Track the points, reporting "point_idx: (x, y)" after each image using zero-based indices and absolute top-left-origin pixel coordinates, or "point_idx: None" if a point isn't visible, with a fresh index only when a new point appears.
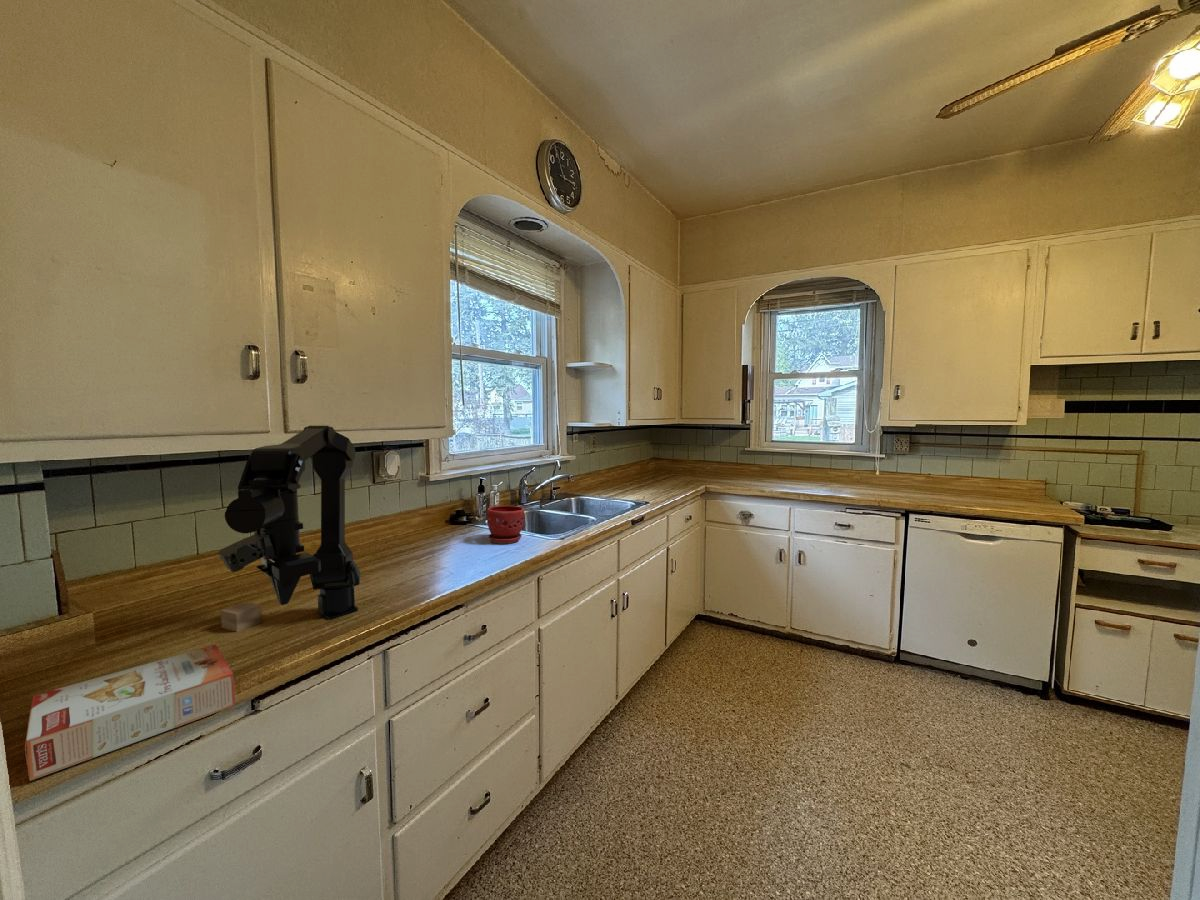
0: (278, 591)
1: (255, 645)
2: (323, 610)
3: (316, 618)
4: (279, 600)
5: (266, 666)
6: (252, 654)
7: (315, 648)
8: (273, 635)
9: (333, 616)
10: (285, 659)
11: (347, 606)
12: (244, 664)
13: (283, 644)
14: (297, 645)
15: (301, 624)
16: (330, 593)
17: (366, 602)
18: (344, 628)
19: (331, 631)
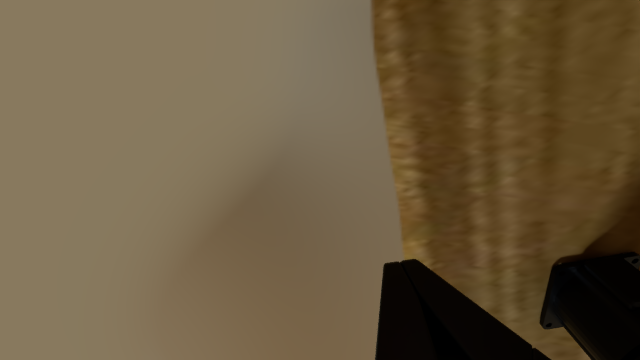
0: (381, 354)
1: (584, 72)
2: (597, 272)
3: (597, 241)
4: (404, 279)
5: (394, 76)
6: (524, 53)
7: (400, 206)
8: (604, 129)
9: (554, 277)
10: (397, 130)
11: (562, 319)
12: (470, 18)
13: (509, 142)
14: (464, 172)
15: (599, 204)
16: (630, 331)
17: (569, 343)
18: (462, 281)
19: (473, 255)
